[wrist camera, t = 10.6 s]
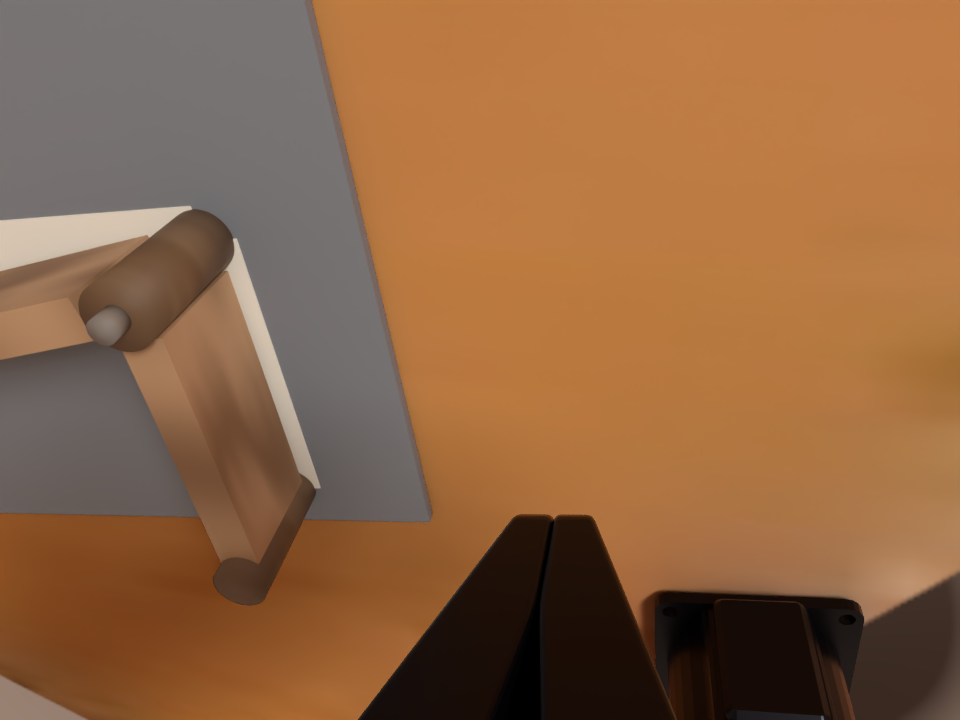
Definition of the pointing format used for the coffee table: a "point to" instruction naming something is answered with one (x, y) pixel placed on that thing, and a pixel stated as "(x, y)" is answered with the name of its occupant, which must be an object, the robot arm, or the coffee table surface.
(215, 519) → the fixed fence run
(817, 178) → the coffee table surface
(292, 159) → the card
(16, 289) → the brown wooden bar
